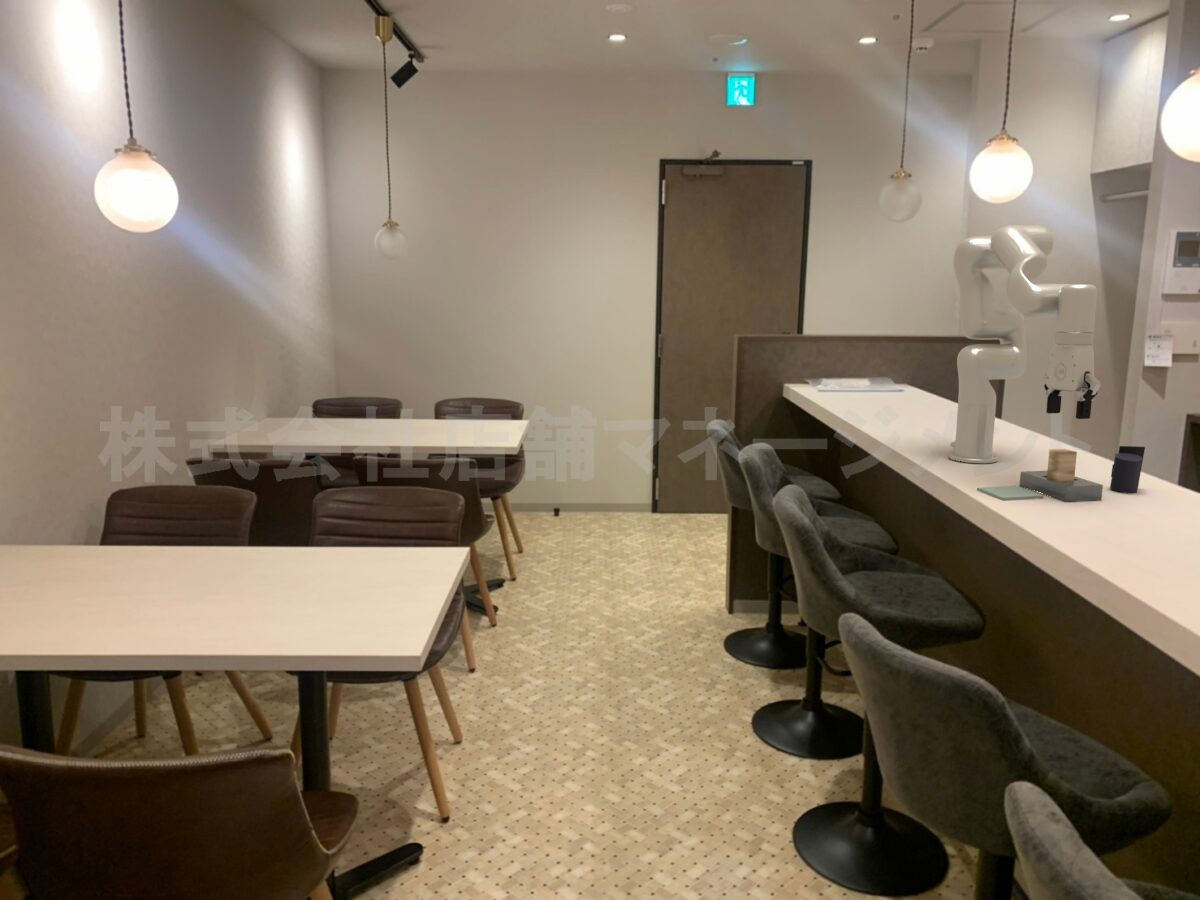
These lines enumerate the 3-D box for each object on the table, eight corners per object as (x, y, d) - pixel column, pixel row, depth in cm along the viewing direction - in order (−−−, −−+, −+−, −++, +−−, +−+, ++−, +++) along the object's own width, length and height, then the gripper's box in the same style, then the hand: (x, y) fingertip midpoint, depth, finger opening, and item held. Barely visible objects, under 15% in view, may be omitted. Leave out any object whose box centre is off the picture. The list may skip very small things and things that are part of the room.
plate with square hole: (1019, 485, 209) (1020, 471, 209) (1053, 484, 211) (1054, 470, 210) (1065, 502, 194) (1066, 486, 193) (1101, 500, 195) (1102, 484, 195)
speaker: (1110, 484, 210) (1116, 442, 207) (1137, 488, 207) (1145, 446, 204) (1107, 493, 204) (1114, 451, 201) (1136, 497, 201) (1143, 454, 198)
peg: (1045, 491, 204) (1049, 449, 202) (1060, 490, 205) (1064, 448, 203) (1057, 495, 200) (1061, 452, 198) (1072, 494, 201) (1076, 451, 199)
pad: (976, 490, 205) (977, 487, 205) (1015, 488, 207) (1015, 485, 207) (1003, 500, 196) (1003, 497, 195) (1043, 498, 197) (1043, 495, 197)
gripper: (1033, 338, 203) (1028, 411, 206) (1086, 342, 186) (1079, 421, 189) (1062, 338, 205) (1056, 410, 207) (1117, 341, 188) (1110, 420, 191)
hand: (1067, 415), depth 198 cm, fingers open, 9 cm apart
